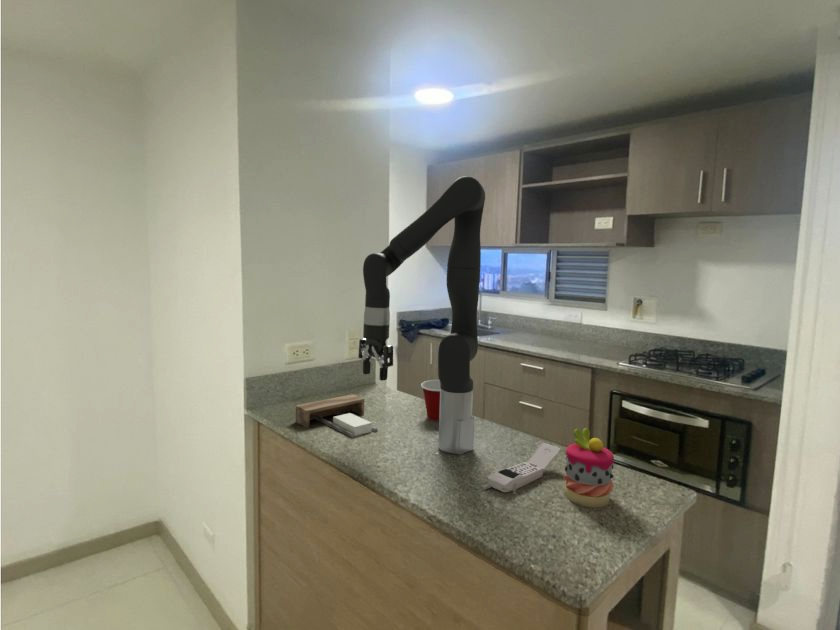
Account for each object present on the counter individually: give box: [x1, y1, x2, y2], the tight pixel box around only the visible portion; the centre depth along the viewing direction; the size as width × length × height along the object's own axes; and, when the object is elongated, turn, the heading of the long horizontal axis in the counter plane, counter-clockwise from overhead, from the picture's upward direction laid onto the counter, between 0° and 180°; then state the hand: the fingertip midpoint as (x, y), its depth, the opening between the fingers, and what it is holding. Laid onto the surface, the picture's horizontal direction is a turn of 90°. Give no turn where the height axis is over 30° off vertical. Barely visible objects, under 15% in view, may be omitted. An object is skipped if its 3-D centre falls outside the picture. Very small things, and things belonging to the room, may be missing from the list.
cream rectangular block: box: [332, 412, 373, 437], centre depth 148 cm, size 12×6×3 cm, turn 42°
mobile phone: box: [481, 441, 561, 493], centre depth 116 cm, size 6×6×25 cm
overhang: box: [295, 393, 378, 439], centre depth 151 cm, size 23×22×6 cm
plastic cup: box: [420, 379, 440, 421], centre depth 160 cm, size 11×11×12 cm
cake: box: [562, 427, 615, 508], centre depth 107 cm, size 10×11×15 cm
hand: (374, 376), depth 139 cm, fingers open, 8 cm apart
